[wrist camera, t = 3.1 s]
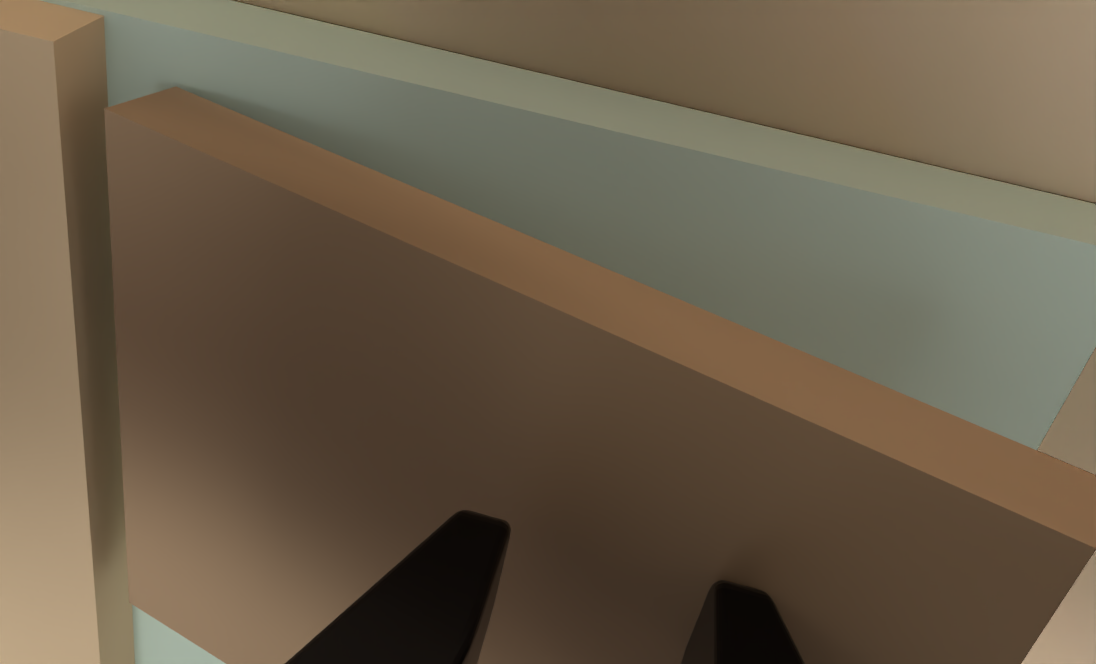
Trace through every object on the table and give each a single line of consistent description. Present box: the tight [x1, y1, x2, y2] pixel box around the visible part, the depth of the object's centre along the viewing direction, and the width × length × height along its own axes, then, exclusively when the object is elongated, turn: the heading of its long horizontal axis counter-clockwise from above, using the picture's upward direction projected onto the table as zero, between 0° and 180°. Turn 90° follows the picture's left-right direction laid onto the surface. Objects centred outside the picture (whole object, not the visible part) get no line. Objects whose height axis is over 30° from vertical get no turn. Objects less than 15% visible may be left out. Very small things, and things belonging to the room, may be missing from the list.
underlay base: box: [0, 0, 1096, 664], centre depth 13 cm, size 16×14×2 cm
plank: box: [104, 86, 1096, 664], centre depth 9 cm, size 6×8×1 cm
